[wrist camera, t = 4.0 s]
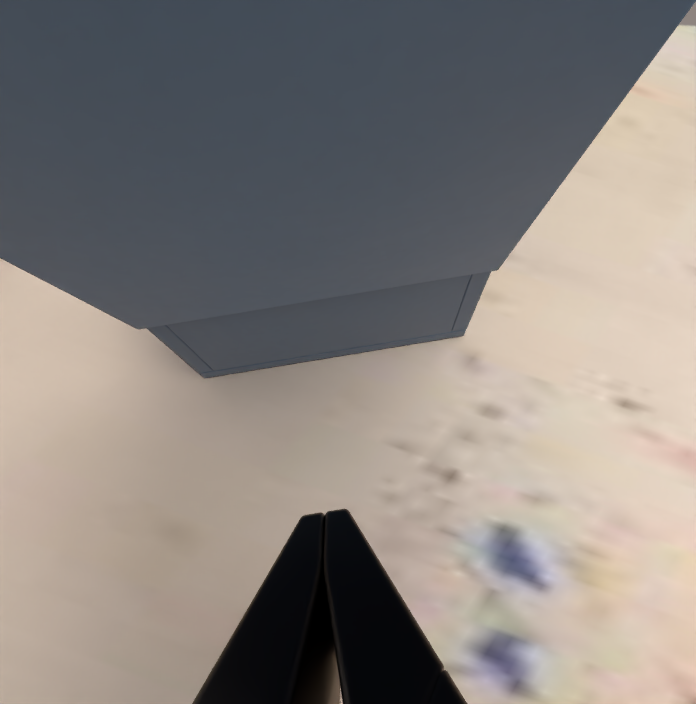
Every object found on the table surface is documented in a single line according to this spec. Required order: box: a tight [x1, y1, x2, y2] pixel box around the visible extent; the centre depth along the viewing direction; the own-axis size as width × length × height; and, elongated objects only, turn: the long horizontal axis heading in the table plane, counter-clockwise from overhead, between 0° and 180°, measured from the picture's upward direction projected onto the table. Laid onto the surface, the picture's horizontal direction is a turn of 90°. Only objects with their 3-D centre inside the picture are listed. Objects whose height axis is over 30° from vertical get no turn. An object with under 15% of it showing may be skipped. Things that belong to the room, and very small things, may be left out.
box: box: [147, 271, 491, 378], centre depth 22 cm, size 13×14×6 cm
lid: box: [0, 0, 696, 329], centre depth 10 cm, size 14×14×1 cm
